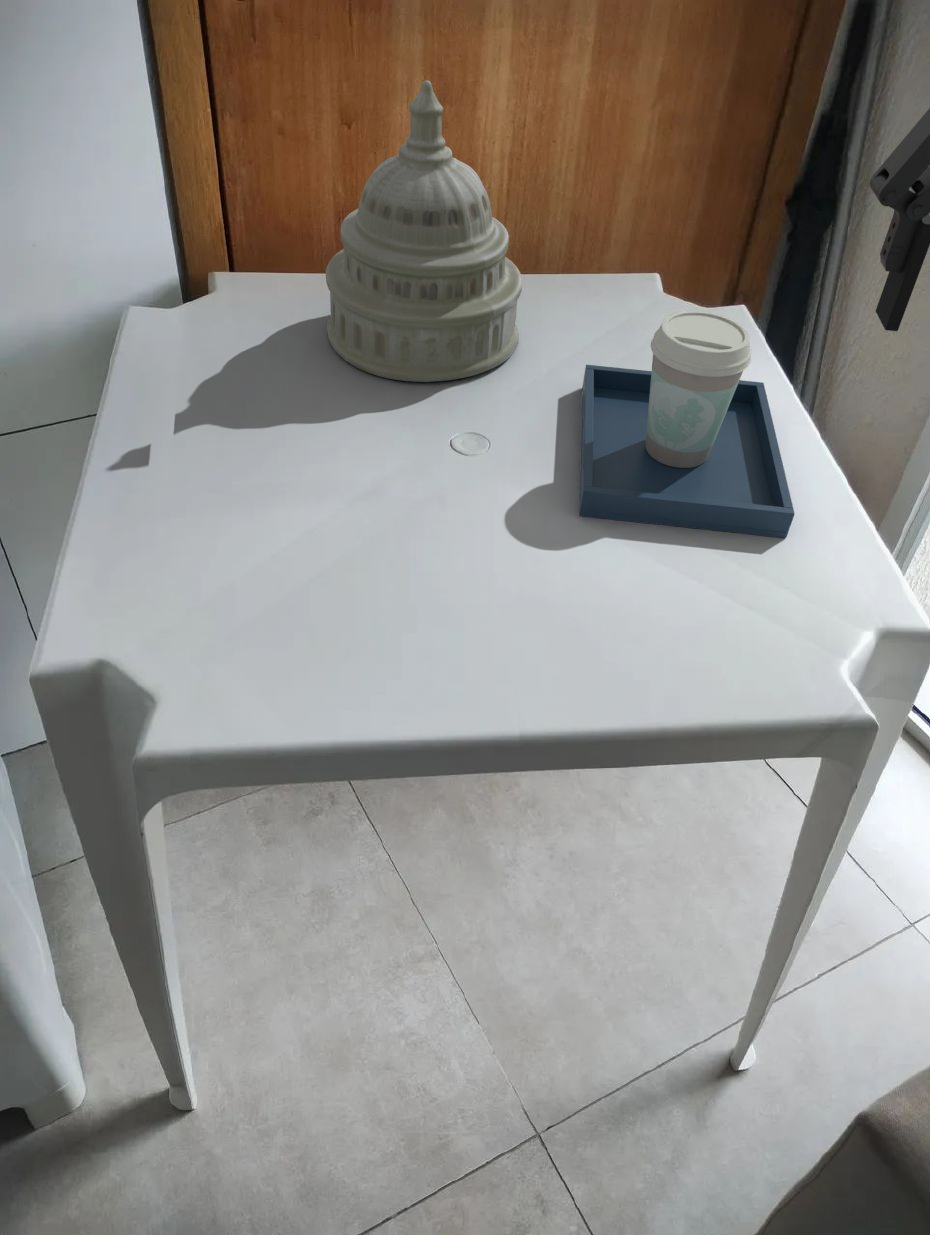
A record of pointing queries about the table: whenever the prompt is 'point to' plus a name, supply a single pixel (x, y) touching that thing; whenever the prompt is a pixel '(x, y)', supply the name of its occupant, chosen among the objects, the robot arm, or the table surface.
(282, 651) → the table surface
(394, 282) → the dome
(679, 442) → the coffee cup
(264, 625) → the table surface
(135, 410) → the table surface
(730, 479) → the tray
